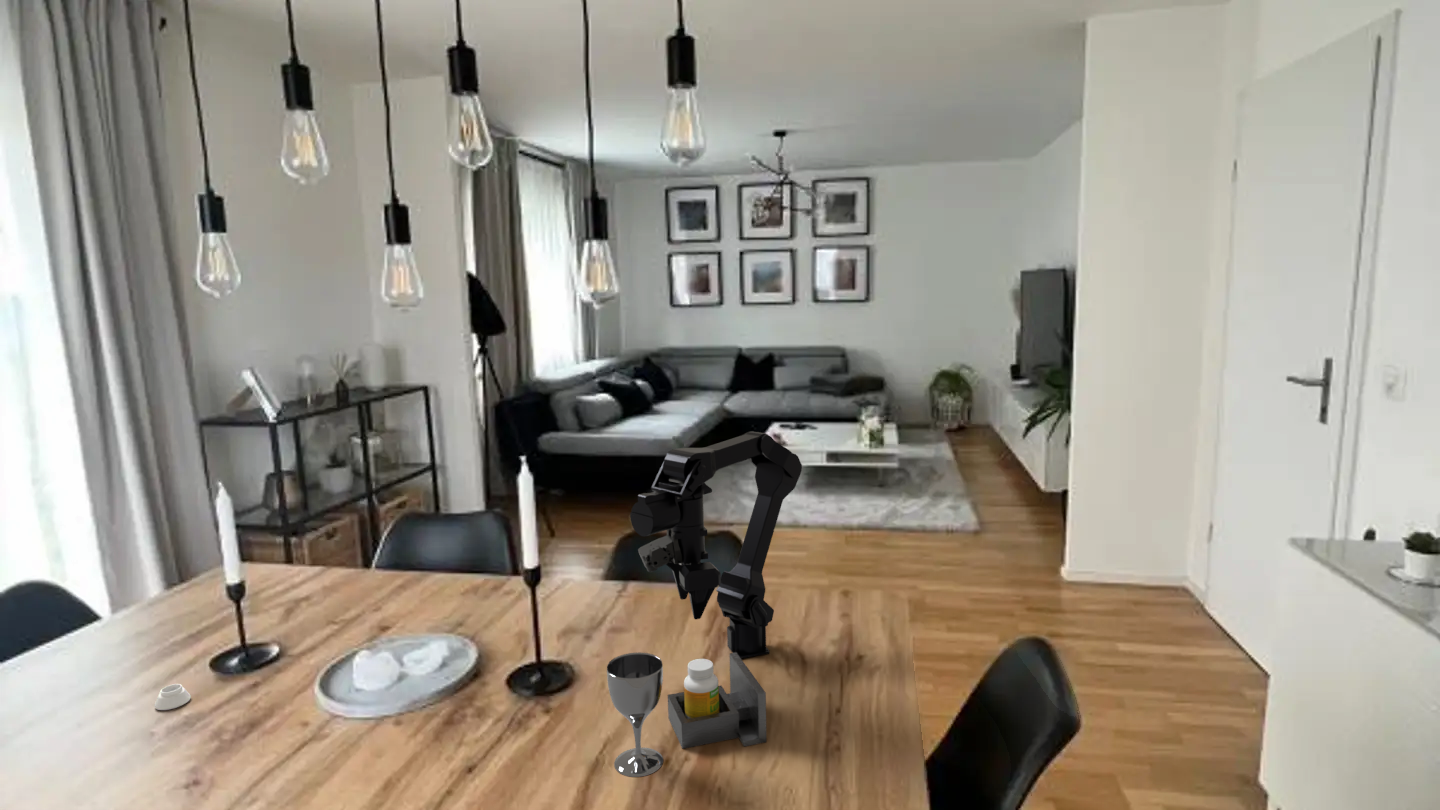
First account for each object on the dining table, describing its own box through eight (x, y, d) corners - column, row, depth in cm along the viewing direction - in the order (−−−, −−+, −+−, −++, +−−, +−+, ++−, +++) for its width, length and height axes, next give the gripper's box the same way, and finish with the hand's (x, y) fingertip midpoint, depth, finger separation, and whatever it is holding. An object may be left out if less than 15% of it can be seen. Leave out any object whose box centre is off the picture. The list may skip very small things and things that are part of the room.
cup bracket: (737, 697, 130) (736, 652, 129) (766, 741, 117) (765, 692, 116) (664, 710, 127) (663, 664, 126) (686, 758, 114) (684, 707, 112)
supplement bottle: (715, 733, 118) (713, 674, 117) (681, 730, 119) (679, 671, 118) (723, 714, 123) (721, 657, 122) (690, 712, 125) (688, 655, 123)
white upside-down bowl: (148, 709, 131) (169, 714, 130) (145, 693, 131) (167, 697, 129) (176, 695, 136) (197, 699, 134) (174, 679, 136) (195, 683, 134)
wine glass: (612, 748, 117) (608, 654, 114) (665, 744, 117) (662, 650, 115) (609, 780, 109) (605, 680, 107) (666, 776, 109) (662, 676, 107)
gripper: (630, 513, 140) (634, 595, 142) (653, 544, 122) (657, 637, 124) (690, 506, 143) (692, 587, 145) (720, 535, 125) (723, 627, 128)
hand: (690, 608), depth 135 cm, fingers open, 9 cm apart
